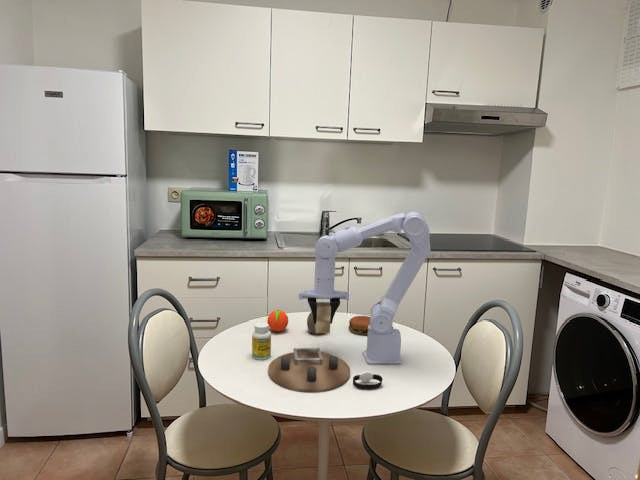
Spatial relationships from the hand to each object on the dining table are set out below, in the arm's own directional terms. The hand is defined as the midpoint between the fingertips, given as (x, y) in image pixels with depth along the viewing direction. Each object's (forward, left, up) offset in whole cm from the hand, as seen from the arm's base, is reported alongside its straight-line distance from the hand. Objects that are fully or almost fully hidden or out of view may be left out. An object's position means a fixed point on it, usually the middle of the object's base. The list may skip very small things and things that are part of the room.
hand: (322, 322), depth 136 cm
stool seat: (+5, +12, -9) cm, 16 cm away
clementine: (+13, -17, -10) cm, 23 cm away
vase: (0, -16, -10) cm, 19 cm away
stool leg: (0, 0, -2) cm, 2 cm away
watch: (-10, +20, -10) cm, 24 cm away
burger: (-16, -17, -10) cm, 26 cm away
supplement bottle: (+18, +2, -10) cm, 20 cm away
